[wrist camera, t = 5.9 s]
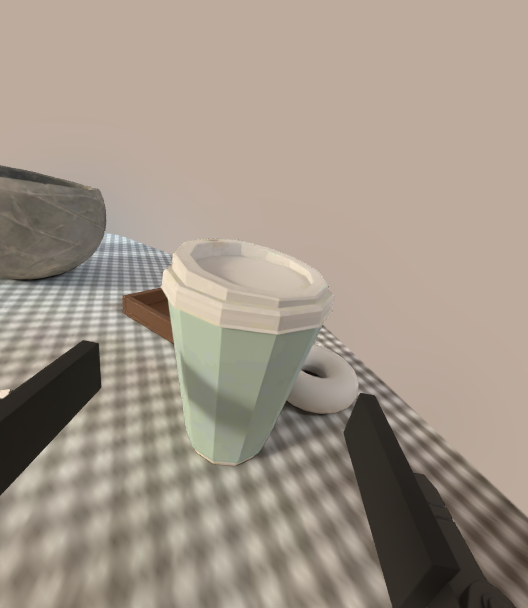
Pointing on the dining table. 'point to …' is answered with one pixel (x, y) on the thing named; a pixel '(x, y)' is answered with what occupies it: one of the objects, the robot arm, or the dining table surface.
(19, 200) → the bowl
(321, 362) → the donut
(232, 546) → the dining table surface
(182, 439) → the dining table surface
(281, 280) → the disposable coffee cup
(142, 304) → the tray
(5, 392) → the white rounded piece
